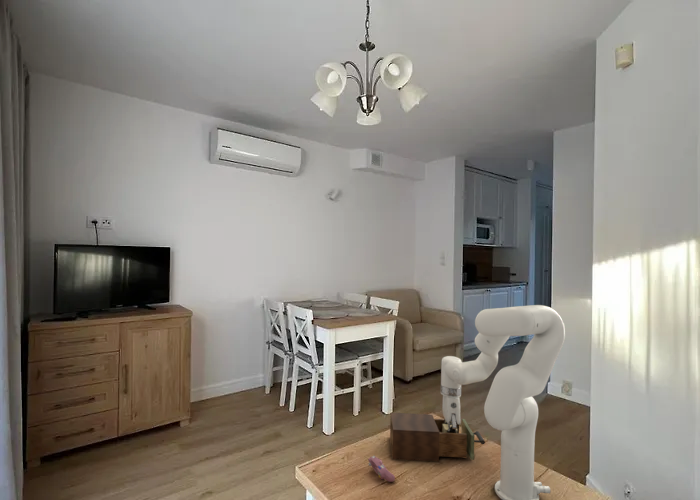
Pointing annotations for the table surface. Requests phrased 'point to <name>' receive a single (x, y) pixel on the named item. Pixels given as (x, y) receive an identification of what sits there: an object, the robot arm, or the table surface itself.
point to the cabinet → (414, 437)
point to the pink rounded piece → (380, 469)
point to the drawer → (457, 441)
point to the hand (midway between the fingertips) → (449, 438)
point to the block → (446, 428)
